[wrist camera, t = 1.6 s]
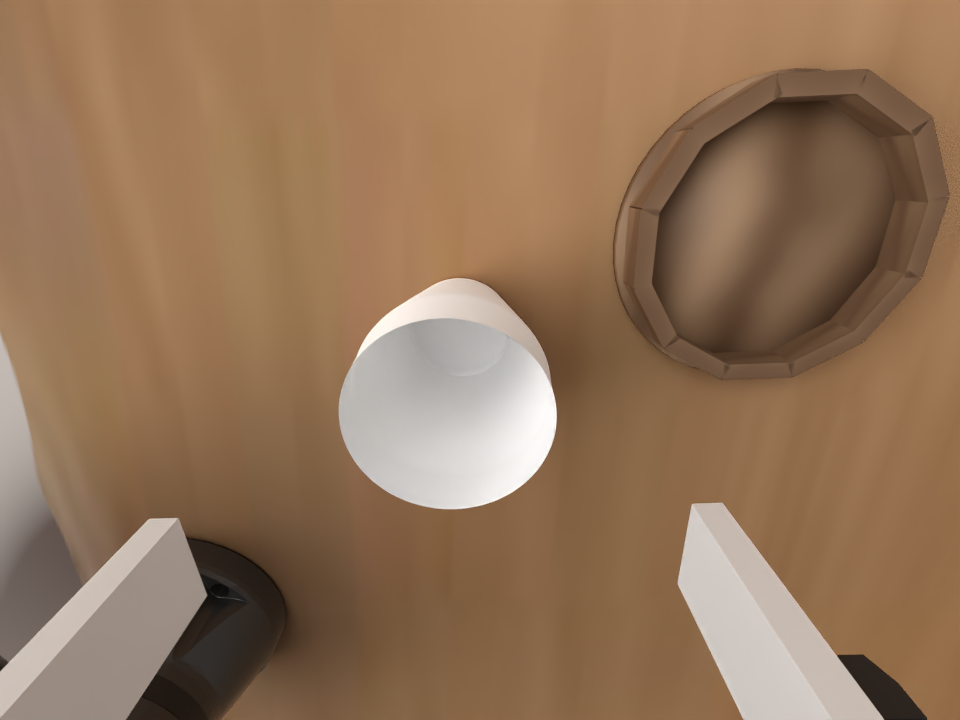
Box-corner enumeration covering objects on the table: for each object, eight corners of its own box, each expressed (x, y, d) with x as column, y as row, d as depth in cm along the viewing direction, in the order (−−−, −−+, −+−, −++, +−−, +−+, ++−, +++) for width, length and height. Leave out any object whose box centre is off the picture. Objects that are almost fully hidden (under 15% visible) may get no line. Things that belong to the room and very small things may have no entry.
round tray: (603, 372, 30) (615, 391, 27) (625, 79, 23) (643, 67, 21) (858, 363, 30) (895, 381, 27) (950, 64, 23) (1010, 49, 21)
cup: (398, 246, 27) (339, 293, 16) (543, 271, 27) (587, 335, 16) (384, 379, 30) (328, 497, 19) (514, 400, 31) (534, 525, 20)
